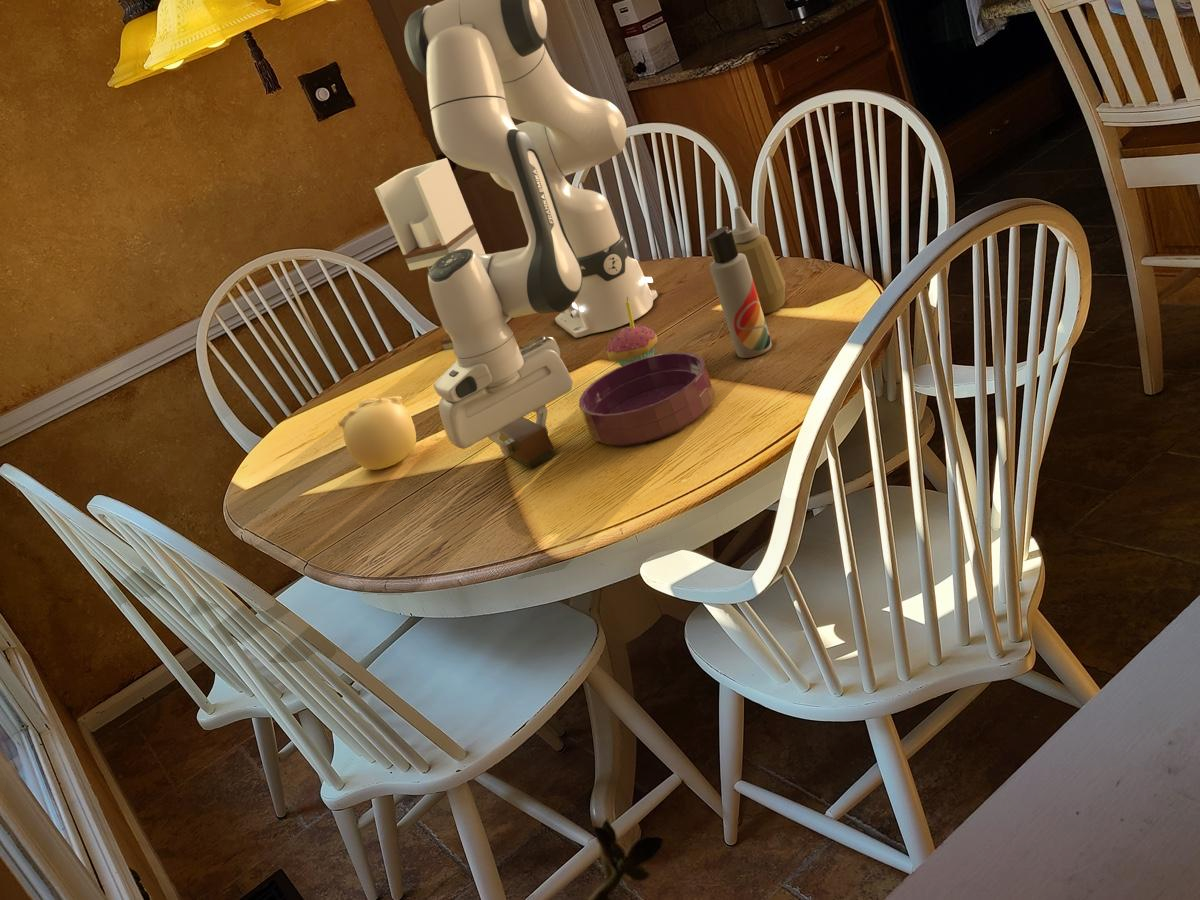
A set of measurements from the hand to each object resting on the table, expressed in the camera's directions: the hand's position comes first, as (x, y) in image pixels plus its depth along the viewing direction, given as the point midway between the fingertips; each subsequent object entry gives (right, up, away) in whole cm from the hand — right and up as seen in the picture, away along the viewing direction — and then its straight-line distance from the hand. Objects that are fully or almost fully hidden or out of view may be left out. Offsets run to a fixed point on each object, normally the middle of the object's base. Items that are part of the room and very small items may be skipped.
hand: (525, 444), depth 165 cm
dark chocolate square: (+1, -2, +1) cm, 2 cm away
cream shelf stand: (-14, +23, +66) cm, 71 cm away
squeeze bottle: (+39, +23, +22) cm, 50 cm away
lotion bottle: (+35, +14, +7) cm, 39 cm away
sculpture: (-23, -3, +19) cm, 30 cm away
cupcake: (+18, +12, +17) cm, 28 cm away
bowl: (+19, +4, -1) cm, 19 cm away
